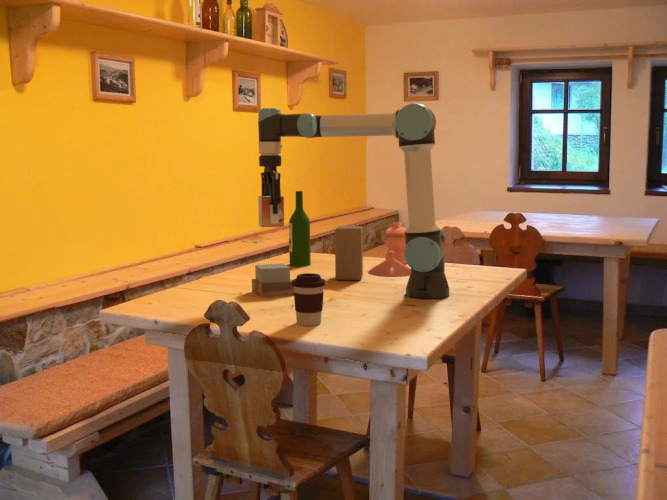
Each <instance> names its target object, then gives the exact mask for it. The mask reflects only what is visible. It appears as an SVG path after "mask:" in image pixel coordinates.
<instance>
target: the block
mask: <svg viewBox="0 0 667 500" xmlns="http://www.w3.org/2000/svg"><path fill="white" fill-rule="evenodd" d="M363 229H364V228H363V226H361V225H339V226H337V227H336V228H335V230H334V253H335V255H334V262H335V263H334V265H335V269H334V270H335V271H334V273H335V275H334V276H335V277H334V278H335V280H337V281H361V280H362V278H363V275H364V271H363V270H364V258H363V257H364V255H363V252H364V249H363V248H364V245H363V243H364V240H363V236H364V235H363V234H364V233H363Z"/></svg>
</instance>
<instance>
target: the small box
mask: <svg viewBox="0 0 667 500" xmlns="http://www.w3.org/2000/svg"><path fill="white" fill-rule="evenodd" d="M257 198H258V199H257V200H258V202H257V203H258V206H257V207H258V227H260V228H285V196H283V195H281V203H279V204H278V208H279V224H270V204H269V203H270V202H271V197H270V196H262V195H261V196H260V195H259V196H258V197H257Z"/></svg>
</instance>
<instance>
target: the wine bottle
mask: <svg viewBox="0 0 667 500" xmlns="http://www.w3.org/2000/svg"><path fill="white" fill-rule="evenodd" d="M303 193H304V191H303V190H296V191H295V210H294V211H293V213H292V214H291V217H290V218H289V222H288V237H289V238H288V242H289V243H288V245H289V246H288V247H289V249H288V250H289V267H296V268H297V267H298V268H302V267H309V266H311V263H312V262H311V259H312V258H311V221H310V218H309V216H308V215H307V213H306V211H305V209H304V199H303V197H304V196H303V195H304V194H303Z"/></svg>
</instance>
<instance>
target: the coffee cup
mask: <svg viewBox="0 0 667 500" xmlns="http://www.w3.org/2000/svg"><path fill="white" fill-rule="evenodd" d="M291 280H292V286H294V295H293V299H294V311H295V315H296V324H297V325H298V324H299V325H298V326H300V325H303V326H302V327H317V326H319V325H321V323H322V312H323V306H324V287H325V286H326V279H324V278H322V277H321V275H320V274H319V273H308V272H306V273H300V274H297V276H296V278H294V279H291ZM316 325H317V326H316Z"/></svg>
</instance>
